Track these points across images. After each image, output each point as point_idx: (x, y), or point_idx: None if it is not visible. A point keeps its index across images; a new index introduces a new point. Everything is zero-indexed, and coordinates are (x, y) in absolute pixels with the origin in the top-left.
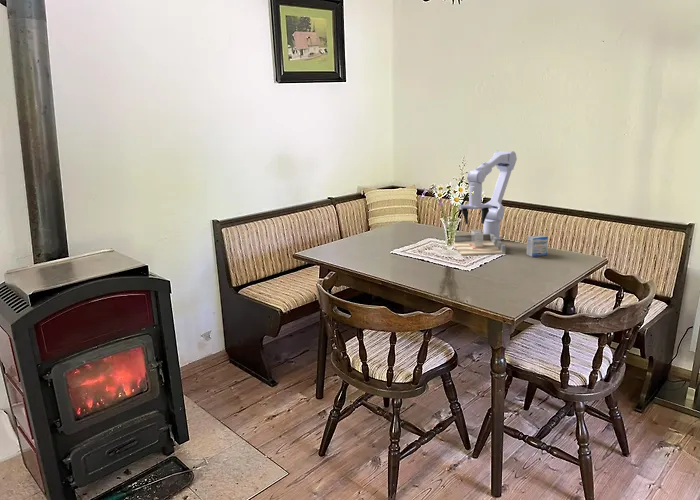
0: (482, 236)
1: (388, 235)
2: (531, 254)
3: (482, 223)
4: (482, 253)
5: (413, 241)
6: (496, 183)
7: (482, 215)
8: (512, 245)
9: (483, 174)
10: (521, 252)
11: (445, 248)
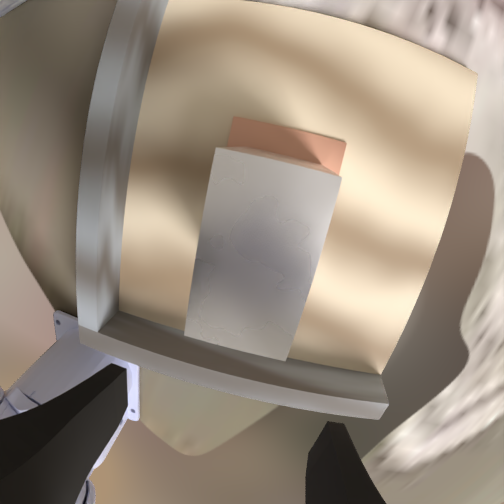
0: (237, 149)
1: (483, 492)
2: None
3: (123, 371)
4: (323, 15)
5: (492, 434)
6: None
7: (73, 466)
8: (35, 175)
9: None
10: (60, 20)
11: (478, 283)
